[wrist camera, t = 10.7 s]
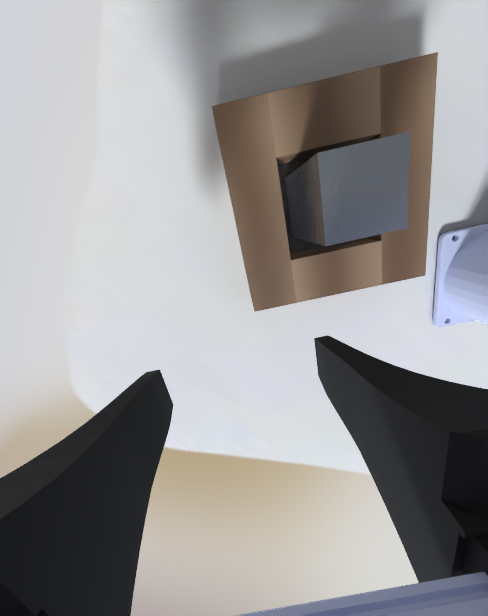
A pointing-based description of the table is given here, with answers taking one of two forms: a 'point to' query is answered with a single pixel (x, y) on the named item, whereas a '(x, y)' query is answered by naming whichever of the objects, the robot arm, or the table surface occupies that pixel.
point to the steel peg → (351, 191)
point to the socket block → (305, 144)
